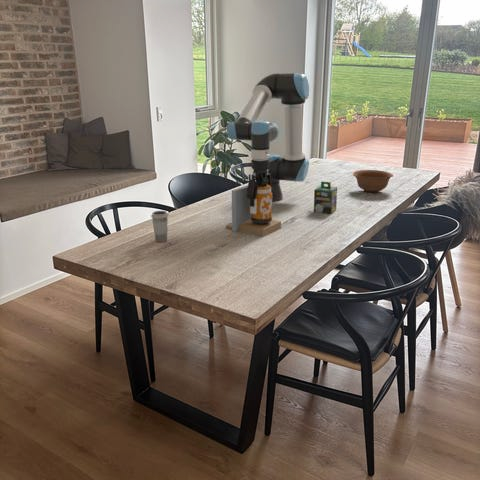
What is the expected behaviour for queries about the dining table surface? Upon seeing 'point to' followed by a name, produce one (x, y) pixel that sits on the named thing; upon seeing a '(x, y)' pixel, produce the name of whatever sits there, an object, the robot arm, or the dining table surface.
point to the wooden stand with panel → (247, 216)
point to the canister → (263, 203)
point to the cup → (160, 225)
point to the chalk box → (325, 198)
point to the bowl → (372, 180)
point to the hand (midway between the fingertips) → (259, 210)
